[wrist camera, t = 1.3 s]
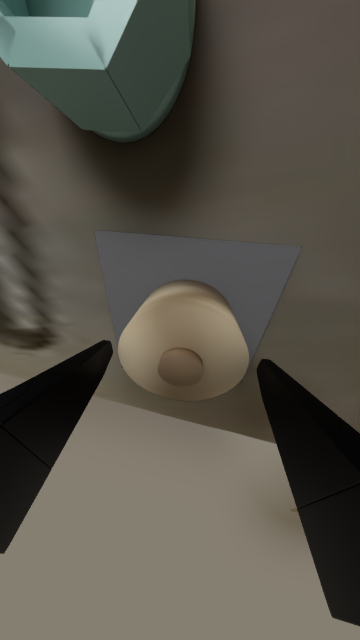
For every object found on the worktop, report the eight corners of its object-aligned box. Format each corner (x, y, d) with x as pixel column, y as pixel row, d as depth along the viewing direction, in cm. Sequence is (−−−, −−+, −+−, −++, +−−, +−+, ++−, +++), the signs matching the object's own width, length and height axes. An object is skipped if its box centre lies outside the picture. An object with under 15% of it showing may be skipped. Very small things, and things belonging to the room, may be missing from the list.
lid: (245, 284, 10) (277, 322, 6) (222, 362, 14) (232, 416, 10) (137, 274, 10) (99, 303, 6) (143, 353, 14) (122, 401, 10)
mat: (296, 246, 9) (302, 247, 8) (240, 378, 15) (241, 382, 15) (98, 230, 9) (94, 230, 9) (123, 363, 16) (121, 367, 15)
